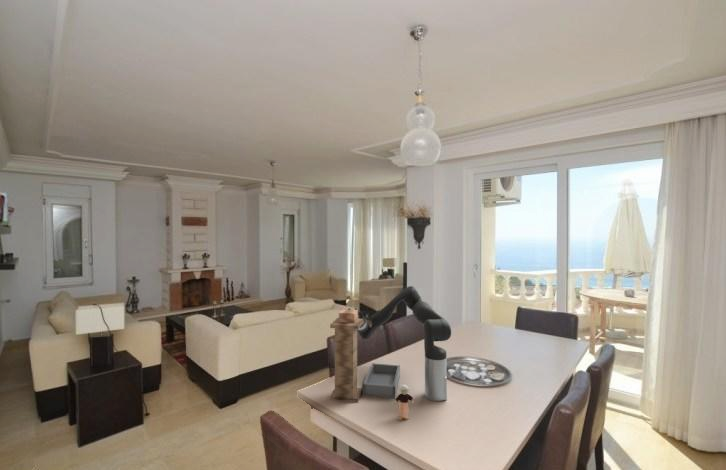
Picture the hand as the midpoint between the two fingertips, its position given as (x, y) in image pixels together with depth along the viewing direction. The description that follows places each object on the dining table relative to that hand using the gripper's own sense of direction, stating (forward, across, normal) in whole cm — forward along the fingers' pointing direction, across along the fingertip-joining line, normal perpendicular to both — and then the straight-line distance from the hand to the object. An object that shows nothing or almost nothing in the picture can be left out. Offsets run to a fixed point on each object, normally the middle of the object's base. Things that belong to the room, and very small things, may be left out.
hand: (352, 310), depth 157 cm
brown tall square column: (-9, 0, -35) cm, 36 cm away
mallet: (+1, 0, -4) cm, 4 cm away
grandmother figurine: (+3, -26, -42) cm, 49 cm away
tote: (-20, -14, -29) cm, 38 cm away
